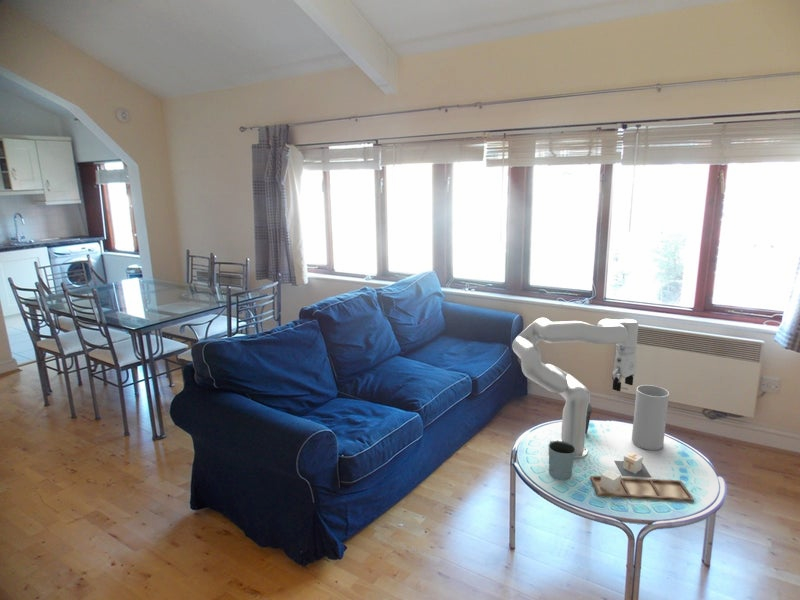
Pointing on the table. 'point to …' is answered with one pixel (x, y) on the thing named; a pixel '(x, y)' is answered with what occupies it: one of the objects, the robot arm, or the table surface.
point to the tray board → (646, 489)
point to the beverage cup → (588, 416)
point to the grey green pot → (561, 459)
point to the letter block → (632, 462)
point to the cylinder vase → (650, 417)
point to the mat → (624, 472)
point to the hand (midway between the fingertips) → (622, 387)
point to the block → (610, 481)
